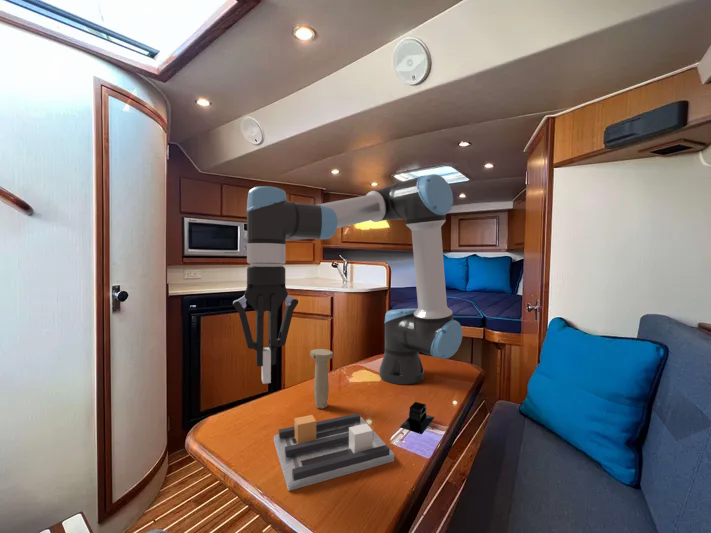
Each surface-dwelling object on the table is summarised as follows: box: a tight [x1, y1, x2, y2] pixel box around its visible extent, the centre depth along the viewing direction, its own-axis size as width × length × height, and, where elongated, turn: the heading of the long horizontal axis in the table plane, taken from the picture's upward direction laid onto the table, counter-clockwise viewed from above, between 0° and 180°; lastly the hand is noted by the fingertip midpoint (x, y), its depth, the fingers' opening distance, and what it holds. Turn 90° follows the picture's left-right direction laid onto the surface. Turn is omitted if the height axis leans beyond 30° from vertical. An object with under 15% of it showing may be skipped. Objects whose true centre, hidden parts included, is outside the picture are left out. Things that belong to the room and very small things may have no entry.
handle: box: [309, 348, 334, 410], centre depth 86 cm, size 5×6×15 cm
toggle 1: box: [294, 414, 317, 444], centre depth 68 cm, size 4×3×4 cm
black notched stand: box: [399, 401, 436, 435], centre depth 79 cm, size 12×7×5 cm, turn 147°
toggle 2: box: [349, 422, 374, 453], centre depth 65 cm, size 4×3×4 cm
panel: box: [273, 416, 395, 492], centre depth 66 cm, size 21×16×2 cm
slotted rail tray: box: [278, 413, 391, 480], centre depth 66 cm, size 19×16×1 cm
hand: (266, 380), depth 65 cm, fingers closed
